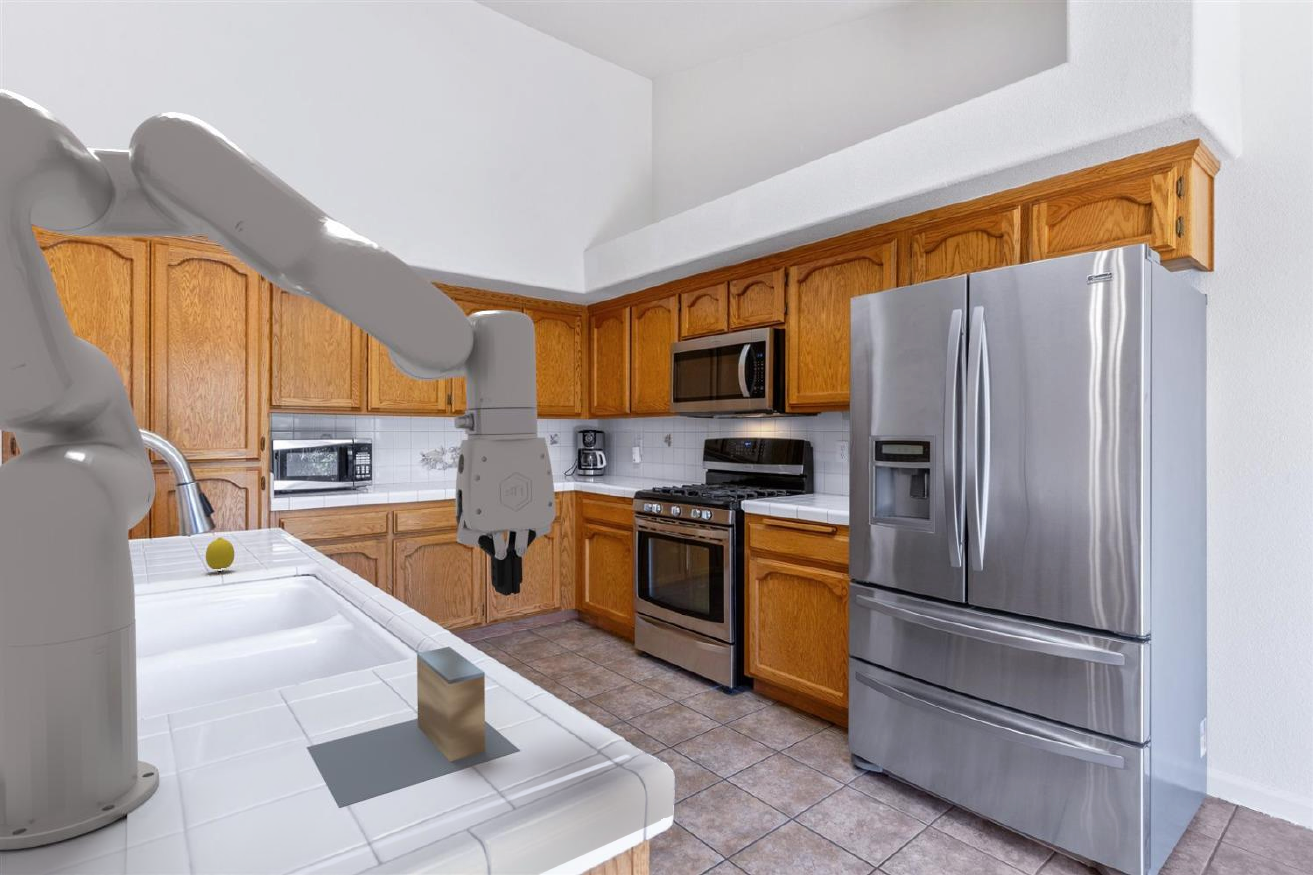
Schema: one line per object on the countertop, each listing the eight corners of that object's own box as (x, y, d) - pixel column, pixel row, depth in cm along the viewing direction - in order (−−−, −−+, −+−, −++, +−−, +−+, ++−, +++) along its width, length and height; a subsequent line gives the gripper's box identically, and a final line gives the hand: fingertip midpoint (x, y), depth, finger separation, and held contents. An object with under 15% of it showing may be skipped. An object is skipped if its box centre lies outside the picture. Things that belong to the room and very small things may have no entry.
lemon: (228, 569, 160) (227, 534, 160) (239, 572, 157) (238, 537, 157) (201, 573, 156) (201, 538, 155) (212, 576, 152) (211, 540, 152)
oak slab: (450, 761, 67) (449, 680, 67) (417, 725, 75) (417, 653, 75) (485, 751, 69) (484, 672, 69) (450, 717, 77) (449, 646, 77)
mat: (339, 811, 59) (339, 807, 59) (306, 750, 70) (306, 746, 70) (520, 754, 69) (520, 750, 69) (467, 708, 80) (467, 705, 80)
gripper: (447, 427, 68) (453, 612, 68) (579, 424, 77) (583, 587, 77) (422, 427, 74) (428, 597, 74) (547, 424, 83) (551, 576, 83)
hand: (507, 591), depth 76 cm, fingers closed
